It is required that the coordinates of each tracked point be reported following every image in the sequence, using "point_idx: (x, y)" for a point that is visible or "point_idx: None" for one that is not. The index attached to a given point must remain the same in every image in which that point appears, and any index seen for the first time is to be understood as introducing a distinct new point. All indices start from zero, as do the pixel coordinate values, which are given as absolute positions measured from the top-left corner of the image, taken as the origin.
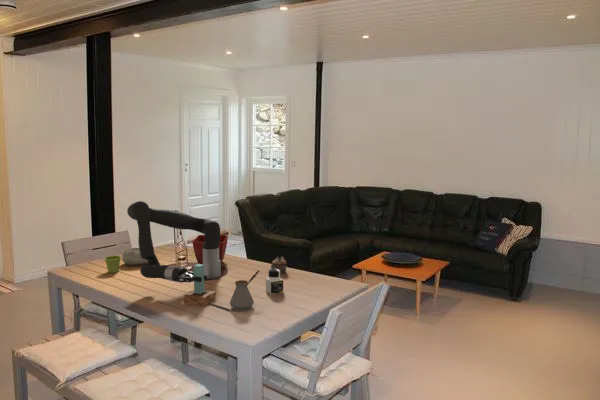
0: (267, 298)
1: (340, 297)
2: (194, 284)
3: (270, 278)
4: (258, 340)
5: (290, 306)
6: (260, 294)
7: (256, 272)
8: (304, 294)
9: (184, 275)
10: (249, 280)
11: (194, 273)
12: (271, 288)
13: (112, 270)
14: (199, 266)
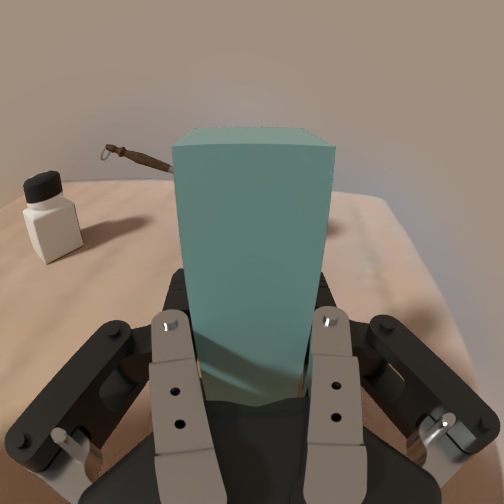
0: (118, 241)
1: (102, 182)
2: (294, 393)
3: (54, 202)
4: (365, 195)
5: (170, 202)
6: (80, 264)
7: (124, 147)
8: (83, 209)
9: (393, 464)
10: (170, 167)
11: (315, 282)
12: (78, 225)
13: None
14: (303, 129)
